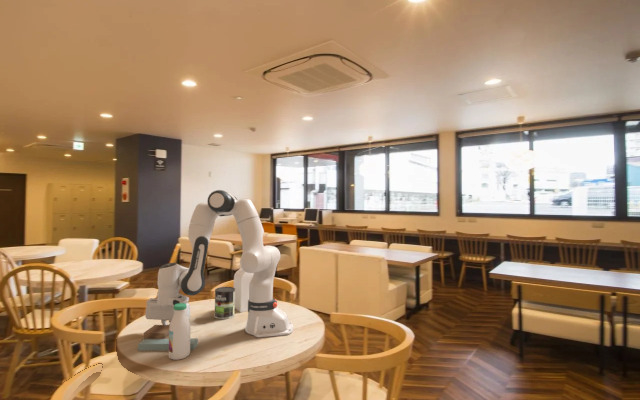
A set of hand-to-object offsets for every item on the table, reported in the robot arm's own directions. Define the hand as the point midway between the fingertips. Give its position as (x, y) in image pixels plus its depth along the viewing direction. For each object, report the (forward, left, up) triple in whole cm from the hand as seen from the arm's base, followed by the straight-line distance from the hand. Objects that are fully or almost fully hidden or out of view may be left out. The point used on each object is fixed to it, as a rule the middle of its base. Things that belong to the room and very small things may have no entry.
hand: (167, 329), depth 147 cm
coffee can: (-21, -21, -2) cm, 30 cm away
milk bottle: (-13, +23, -2) cm, 26 cm away
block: (0, +8, -2) cm, 8 cm away
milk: (-30, -34, -2) cm, 45 cm away
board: (-6, +15, -2) cm, 17 cm away
